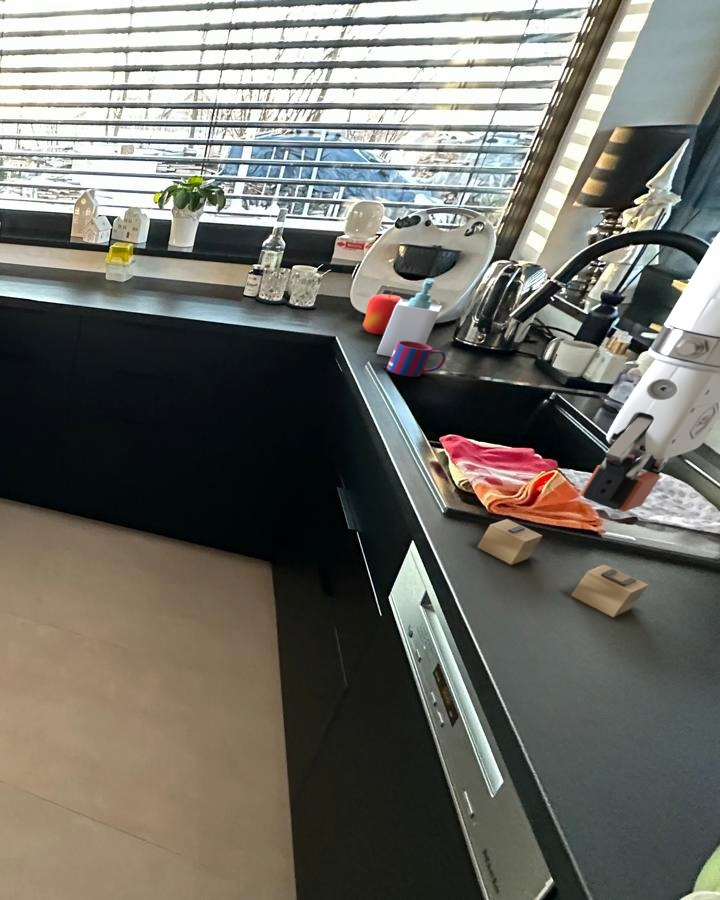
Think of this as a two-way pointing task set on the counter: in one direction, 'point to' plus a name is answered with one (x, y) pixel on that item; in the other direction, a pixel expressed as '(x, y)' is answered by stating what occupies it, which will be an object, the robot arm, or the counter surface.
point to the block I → (509, 541)
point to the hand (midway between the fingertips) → (612, 497)
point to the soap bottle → (410, 320)
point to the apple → (380, 312)
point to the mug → (412, 359)
